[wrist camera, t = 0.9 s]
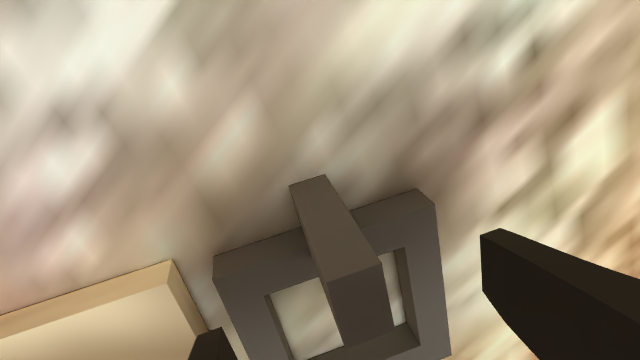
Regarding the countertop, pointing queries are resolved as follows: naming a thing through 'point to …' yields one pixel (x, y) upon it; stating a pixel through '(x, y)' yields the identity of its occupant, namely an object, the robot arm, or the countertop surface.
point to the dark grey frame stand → (344, 276)
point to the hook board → (108, 321)
